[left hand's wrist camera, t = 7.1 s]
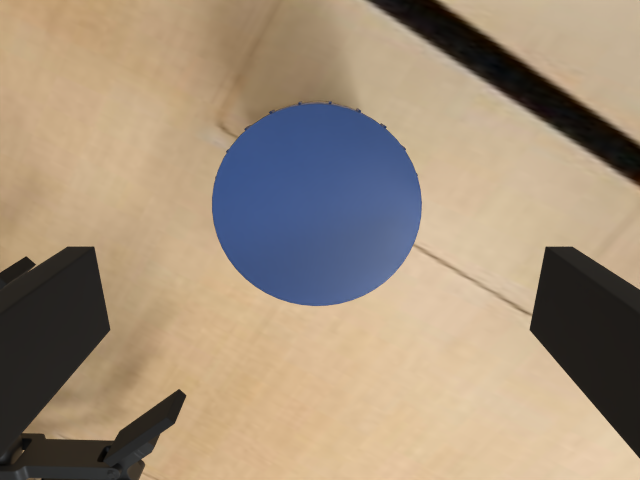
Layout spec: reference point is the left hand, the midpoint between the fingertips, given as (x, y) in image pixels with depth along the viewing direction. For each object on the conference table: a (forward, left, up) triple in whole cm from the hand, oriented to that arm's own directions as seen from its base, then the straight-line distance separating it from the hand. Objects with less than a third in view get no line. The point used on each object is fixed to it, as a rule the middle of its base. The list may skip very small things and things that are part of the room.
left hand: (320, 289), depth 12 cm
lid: (0, 0, -7) cm, 7 cm away
